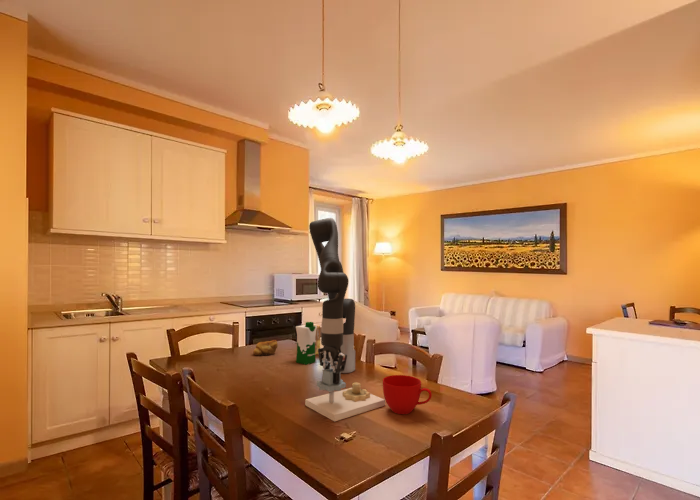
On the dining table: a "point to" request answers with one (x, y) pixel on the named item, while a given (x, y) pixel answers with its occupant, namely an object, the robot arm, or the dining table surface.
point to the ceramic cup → (403, 393)
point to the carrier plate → (345, 402)
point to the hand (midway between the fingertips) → (331, 381)
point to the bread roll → (265, 348)
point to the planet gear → (330, 381)
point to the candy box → (317, 339)
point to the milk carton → (306, 343)
